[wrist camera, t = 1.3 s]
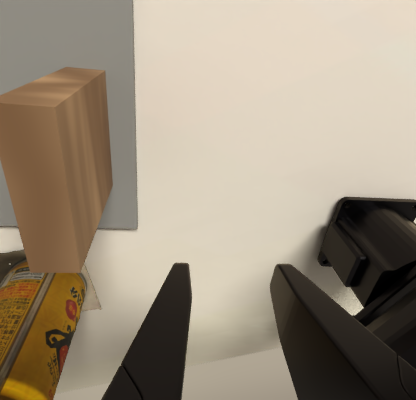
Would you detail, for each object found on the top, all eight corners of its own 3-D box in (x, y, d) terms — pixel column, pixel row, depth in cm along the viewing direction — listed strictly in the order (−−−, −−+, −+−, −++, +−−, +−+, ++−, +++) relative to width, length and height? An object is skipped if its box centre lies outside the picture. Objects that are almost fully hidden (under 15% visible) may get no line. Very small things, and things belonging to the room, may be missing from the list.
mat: (132, -4, 15) (131, -5, 15) (137, 225, 22) (137, 229, 22) (-144, -39, 13) (-152, -40, 13) (-43, 221, 20) (-47, 224, 20)
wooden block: (105, 70, 16) (54, 107, 9) (112, 185, 20) (80, 272, 13) (61, 66, 16) (-25, 101, 9) (76, 183, 19) (24, 272, 13)
